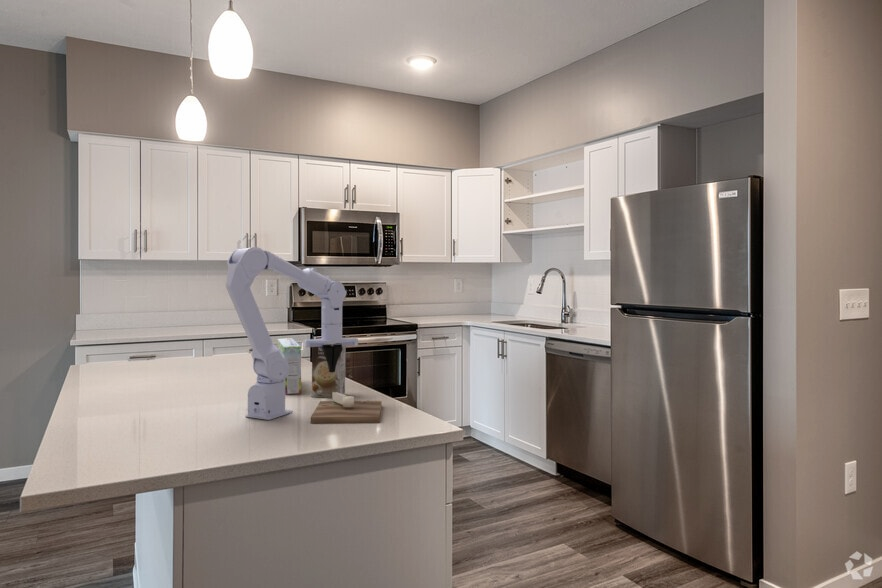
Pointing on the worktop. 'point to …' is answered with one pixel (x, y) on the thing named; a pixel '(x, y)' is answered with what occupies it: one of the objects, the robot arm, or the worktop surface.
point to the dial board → (347, 412)
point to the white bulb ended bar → (343, 399)
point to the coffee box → (327, 374)
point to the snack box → (291, 364)
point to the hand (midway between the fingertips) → (331, 371)
